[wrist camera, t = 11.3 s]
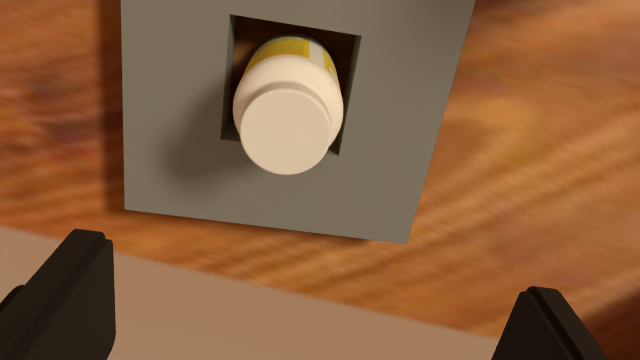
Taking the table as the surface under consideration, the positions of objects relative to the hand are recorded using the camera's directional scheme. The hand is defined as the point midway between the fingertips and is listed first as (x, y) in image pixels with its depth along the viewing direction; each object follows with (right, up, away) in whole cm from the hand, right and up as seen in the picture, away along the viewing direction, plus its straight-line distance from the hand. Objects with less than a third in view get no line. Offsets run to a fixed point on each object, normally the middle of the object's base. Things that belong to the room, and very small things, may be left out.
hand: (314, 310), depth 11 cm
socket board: (-2, +9, +18) cm, 20 cm away
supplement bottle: (-2, +9, +18) cm, 21 cm away
